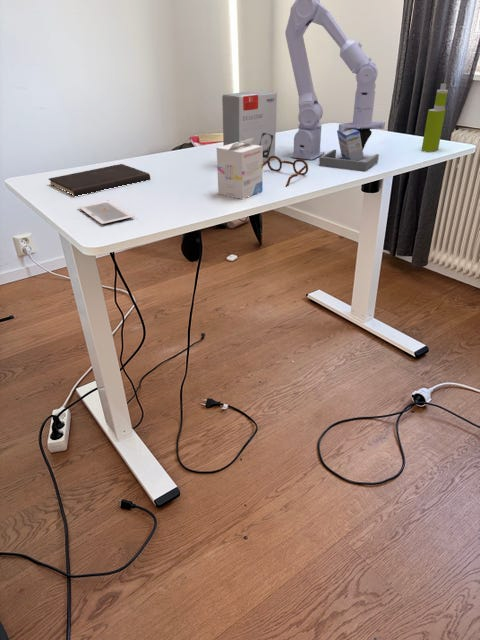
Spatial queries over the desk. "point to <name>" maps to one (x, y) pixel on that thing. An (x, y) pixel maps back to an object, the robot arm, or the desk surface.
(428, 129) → the vape
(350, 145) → the medicine box
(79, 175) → the hardcover book
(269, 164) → the glasses
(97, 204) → the touchpad
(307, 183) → the desk surface
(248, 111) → the hard drive box
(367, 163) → the box
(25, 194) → the desk surface
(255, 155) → the ink box
